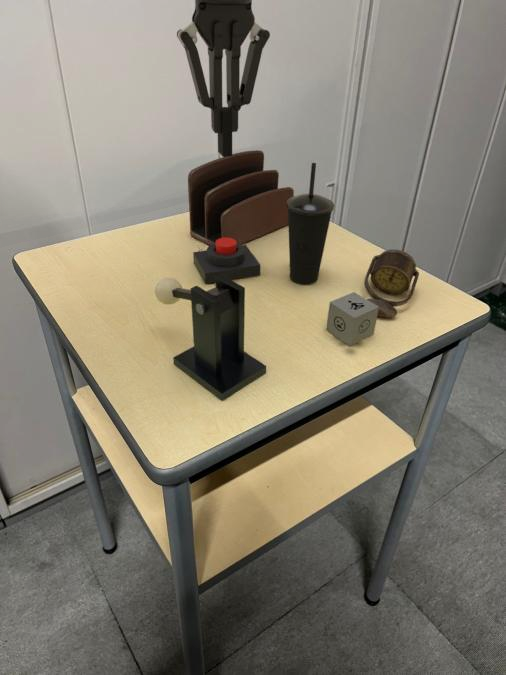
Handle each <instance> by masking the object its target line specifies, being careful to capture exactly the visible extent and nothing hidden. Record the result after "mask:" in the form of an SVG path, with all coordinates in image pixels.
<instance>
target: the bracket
mask: <svg viewBox="0 0 506 675" xmlns="http://www.w3.org/2000/svg"><path fill="white" fill-rule="evenodd" d="M215 280H216V283H215V287H218V288H224V289H230V293H231V297H232V302H233V306H234V307H233V308H231V309H229V310H227V311H225V312H223V313H221V306H220V299H219V298H217V297H215V296H213V295H212V294H210V293H208V292H207V291H208V290H205V289H203V288H201V287H200V286H198V285H194V286H192V287H190V290H191V300H190V302H191V319H192V320H191V321H192V336H193V337H192V338H193V346H192V347H190V348H188V349H186V350H184V351H182V352H180V353H178V354H177V355H175V356H173V357H172V359H173V360H172V361H173V365H174V366H176V368H178V369H179V370H180V371H182V372H184V373H185V374H186V375H187V376H189V377H190V378H191V379H193V380H194V381H195V382H197V383H198V384H199V385H201V387H203V388H204V389H206V390H207V391H208V392H210V393H211V394H212V395H214V397H216V398H218V399H219V400H220V401H224V400H226V399H228V398H229V397H231V396H232V395H234V394H236V393H237V392H238V391H240V390H242V389H244V387H246V386H248V385H249V384H251V383H253V382H254V381H256V380H257V379H259V378H261V377H262V376H263V375H265V374H266V373H267V365H266V364H264V363H263V362H262V361H260V360H258V359H256V358H255V357H253V356H252V355H250V354H248V353H247V352H246V351H245V316H246V314H245V312H246V309H245V308H246V307H245V306H246V304H245V303H246V287H244V286H242V285H241V284H239V283H237V282H236V281H235V280H230V279H228V278H227V277H225V276H223V275H219V276H217V277H215Z"/></svg>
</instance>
